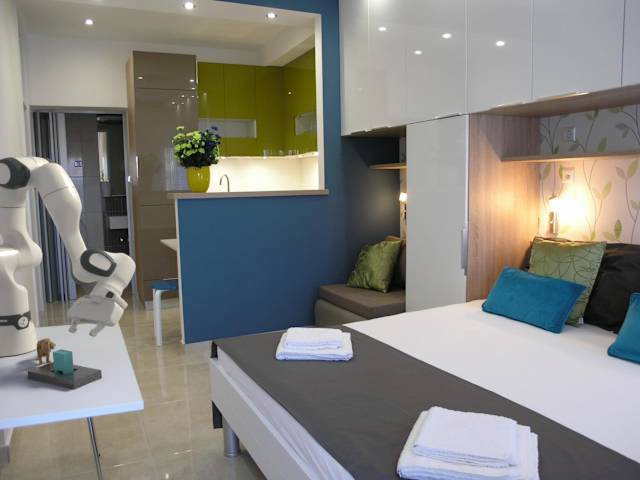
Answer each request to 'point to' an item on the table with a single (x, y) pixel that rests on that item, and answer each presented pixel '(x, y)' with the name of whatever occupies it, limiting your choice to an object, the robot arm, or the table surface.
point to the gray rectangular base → (65, 376)
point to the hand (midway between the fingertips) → (81, 333)
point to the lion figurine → (44, 349)
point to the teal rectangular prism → (63, 361)
